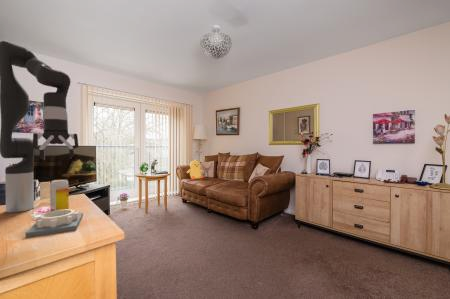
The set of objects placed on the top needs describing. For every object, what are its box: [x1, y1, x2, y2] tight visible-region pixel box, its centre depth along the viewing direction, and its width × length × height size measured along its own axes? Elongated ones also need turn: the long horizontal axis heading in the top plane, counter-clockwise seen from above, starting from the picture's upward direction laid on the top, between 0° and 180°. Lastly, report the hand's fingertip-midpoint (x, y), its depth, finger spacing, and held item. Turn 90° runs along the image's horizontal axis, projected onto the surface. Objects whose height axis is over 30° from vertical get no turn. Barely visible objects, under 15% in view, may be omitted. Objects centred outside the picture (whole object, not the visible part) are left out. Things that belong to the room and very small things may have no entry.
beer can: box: [49, 179, 70, 212], centre depth 88 cm, size 6×6×15 cm
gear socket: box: [25, 208, 84, 238], centre depth 77 cm, size 16×14×4 cm
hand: (57, 159), depth 84 cm, fingers open, 8 cm apart
